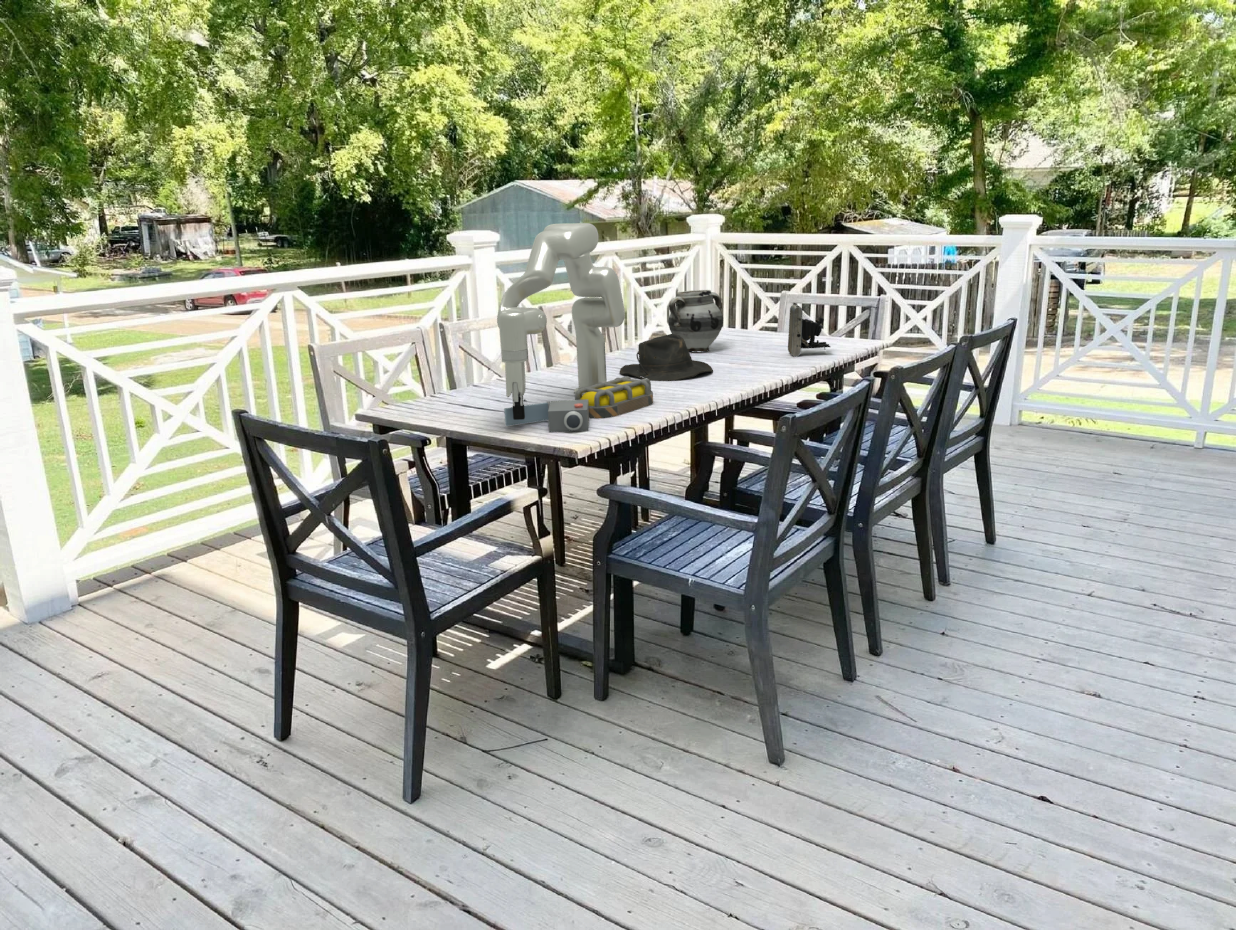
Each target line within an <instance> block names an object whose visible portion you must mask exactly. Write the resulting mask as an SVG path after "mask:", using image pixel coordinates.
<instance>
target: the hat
mask: <svg viewBox="0 0 1236 930" xmlns="http://www.w3.org/2000/svg"><path fill="white" fill-rule="evenodd" d="M637 348H638V351H637V353H636V359H637V362H638V363H631V364H625V365H623V366H622V367H621V368H620V370H619V374H620V375H624V376H628V377H630V376H631V377H633V378H637V379H639V380H642V379H645V378H647V379H649V380H650V382H677V381H681V380H686V379H689V378H695V377H696V376H698V375H700V374H702V373H713V372H714V370H713V369H714V368H712V367H711V365H709V364H708V363H707V362H705V361H700V360H693V359H692V357H691V352H689V351H688V349H687V346H686V343H685V341H684V339H683V338H682V337H681V336H680V335H678V334H672V333H670V334H665V335H661V336H657V337H653V338H652V339H649V340H644V341H642V342H639V344H638V347H637Z"/></svg>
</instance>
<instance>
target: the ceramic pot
mask: <svg viewBox="0 0 1236 930" xmlns="http://www.w3.org/2000/svg"><path fill="white" fill-rule="evenodd" d="M668 302H669V303H668V309H669V315H668V319H667V321H668V323H667V324H668V328H669V331H670V334H678V335H680V336H681V337H682V338H683V339H684V341H685V343H686V346H687V349H688V351H706V352H708V351H709V350H710V347H711V345H712V344H713V343H714V342H715V341H716V340H717V338H718V337H719V335H720V333H721V331H722V329H723V326H724V317H723V315H724V314H723V313H722V311H721V309H722V300H721V296H720V294H718V293H717V292H716V291H715V292H712V290H711V289H696V290H685V291H679V292H676V296H675V297H673V298H671V299H670V301H668ZM707 350H708V351H707Z"/></svg>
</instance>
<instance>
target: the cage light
mask: <svg viewBox="0 0 1236 930" xmlns="http://www.w3.org/2000/svg"><path fill="white" fill-rule="evenodd" d="M651 383H652V381H650V380H649V379H647V378H645V379H634V378H631V377H630V376H629V375H625V376H623V377H616V378H614V379H611V380H608V381H607V382H604V383H603V382H599V383H597V384H596V385H593V386H589V387H581V388H579V387H578V388H579V389H578V390H577V391H576V394H575V393H574V400H586V399H588V404H589V420H592V419H594V420H595V419H598V420H599V419H608V418H609V419H610V418H614V417H617V416H618V417H619V416H621V415H624V414H627V413H631V412H633V411H637V410H640V409H644V408H646V407H649V406H652V405H653V404H654V393H653V390H652V384H651ZM585 392H587V393H585ZM582 393H585V394H583V395H582Z"/></svg>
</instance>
